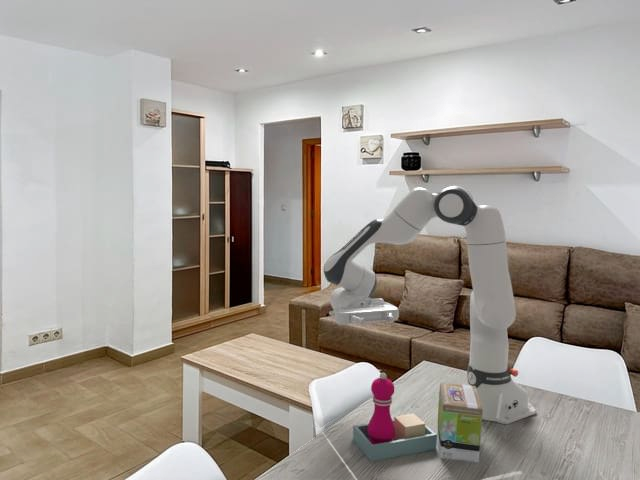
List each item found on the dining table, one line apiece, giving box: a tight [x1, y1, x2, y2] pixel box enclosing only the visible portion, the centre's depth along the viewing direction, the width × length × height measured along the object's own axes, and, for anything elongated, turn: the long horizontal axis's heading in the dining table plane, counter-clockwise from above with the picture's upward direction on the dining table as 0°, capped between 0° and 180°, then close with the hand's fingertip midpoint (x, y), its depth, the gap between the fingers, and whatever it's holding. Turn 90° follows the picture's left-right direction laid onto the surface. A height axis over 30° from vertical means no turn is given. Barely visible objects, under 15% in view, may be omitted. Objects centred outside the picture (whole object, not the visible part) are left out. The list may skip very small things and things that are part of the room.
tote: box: [352, 418, 438, 463], centre depth 125 cm, size 19×11×4 cm, turn 110°
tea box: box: [436, 382, 483, 463], centre depth 125 cm, size 15×10×15 cm, turn 168°
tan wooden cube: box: [393, 413, 426, 440], centre depth 127 cm, size 6×6×6 cm
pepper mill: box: [368, 372, 395, 445], centre depth 123 cm, size 7×7×20 cm
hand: (377, 321), depth 137 cm, fingers open, 8 cm apart
